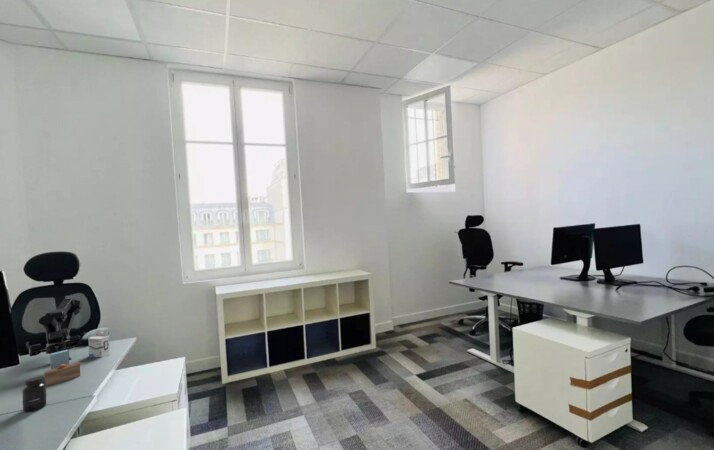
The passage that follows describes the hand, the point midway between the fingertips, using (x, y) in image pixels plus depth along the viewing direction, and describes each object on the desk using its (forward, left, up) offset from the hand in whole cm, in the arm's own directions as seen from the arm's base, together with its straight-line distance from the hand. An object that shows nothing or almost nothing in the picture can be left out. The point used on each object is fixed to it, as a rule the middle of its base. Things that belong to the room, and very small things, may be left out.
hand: (57, 360), depth 159 cm
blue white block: (+4, 0, -6) cm, 8 cm away
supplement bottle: (+32, -11, -8) cm, 35 cm away
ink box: (-11, +18, -8) cm, 22 cm away
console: (+7, 0, -8) cm, 11 cm away
